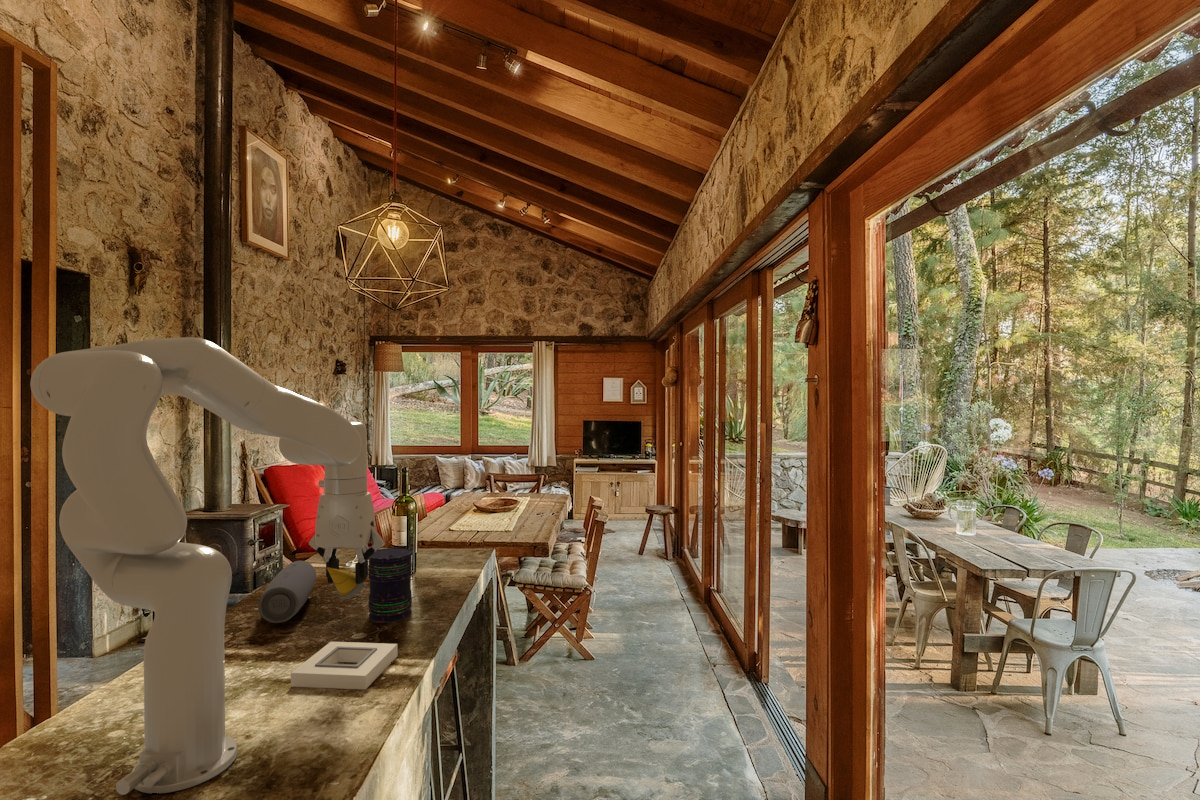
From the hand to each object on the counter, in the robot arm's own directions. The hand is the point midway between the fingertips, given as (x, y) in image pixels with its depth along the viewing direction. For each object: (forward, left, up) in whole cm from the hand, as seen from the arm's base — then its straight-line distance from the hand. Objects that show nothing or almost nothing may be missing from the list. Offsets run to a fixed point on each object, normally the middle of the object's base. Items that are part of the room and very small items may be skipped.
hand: (347, 580), depth 118 cm
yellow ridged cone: (0, 0, -4) cm, 4 cm away
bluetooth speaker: (+29, +30, -17) cm, 45 cm away
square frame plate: (0, 0, -17) cm, 17 cm away
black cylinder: (+29, +4, -17) cm, 34 cm away
